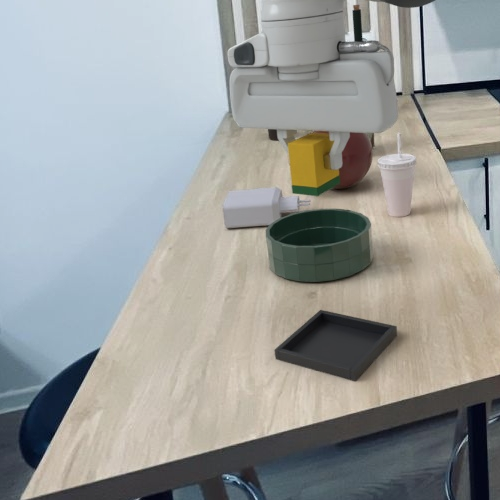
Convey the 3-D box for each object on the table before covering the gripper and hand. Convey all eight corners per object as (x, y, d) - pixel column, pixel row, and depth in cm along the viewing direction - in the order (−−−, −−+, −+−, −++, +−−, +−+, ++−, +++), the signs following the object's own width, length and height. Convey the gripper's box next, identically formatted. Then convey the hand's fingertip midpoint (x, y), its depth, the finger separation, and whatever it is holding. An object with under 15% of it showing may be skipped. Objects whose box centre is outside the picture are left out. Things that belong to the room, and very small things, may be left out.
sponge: (340, 183, 78) (336, 133, 76) (317, 196, 75) (313, 144, 72) (315, 181, 80) (311, 132, 78) (292, 193, 77) (287, 143, 74)
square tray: (397, 338, 76) (396, 326, 75) (355, 385, 69) (354, 371, 68) (321, 321, 82) (320, 309, 81) (275, 362, 75) (274, 349, 74)
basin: (390, 251, 99) (388, 214, 97) (340, 294, 88) (337, 253, 86) (304, 239, 108) (301, 204, 105) (250, 276, 97) (245, 239, 95)
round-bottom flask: (296, 187, 134) (286, 88, 127) (353, 173, 138) (346, 76, 130) (326, 203, 123) (317, 95, 115) (387, 187, 126) (382, 82, 119)
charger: (310, 224, 114) (225, 230, 116) (312, 206, 122) (233, 212, 125) (307, 198, 112) (221, 205, 114) (310, 182, 120) (230, 188, 123)
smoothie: (411, 221, 109) (408, 138, 104) (374, 218, 112) (369, 138, 107) (423, 208, 114) (421, 128, 109) (388, 205, 117) (384, 128, 112)
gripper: (406, 34, 67) (410, 165, 73) (248, 43, 79) (261, 154, 85) (377, 44, 63) (384, 182, 68) (215, 52, 75) (231, 168, 80)
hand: (315, 166), depth 77 cm, fingers closed on sponge, 3 cm apart
